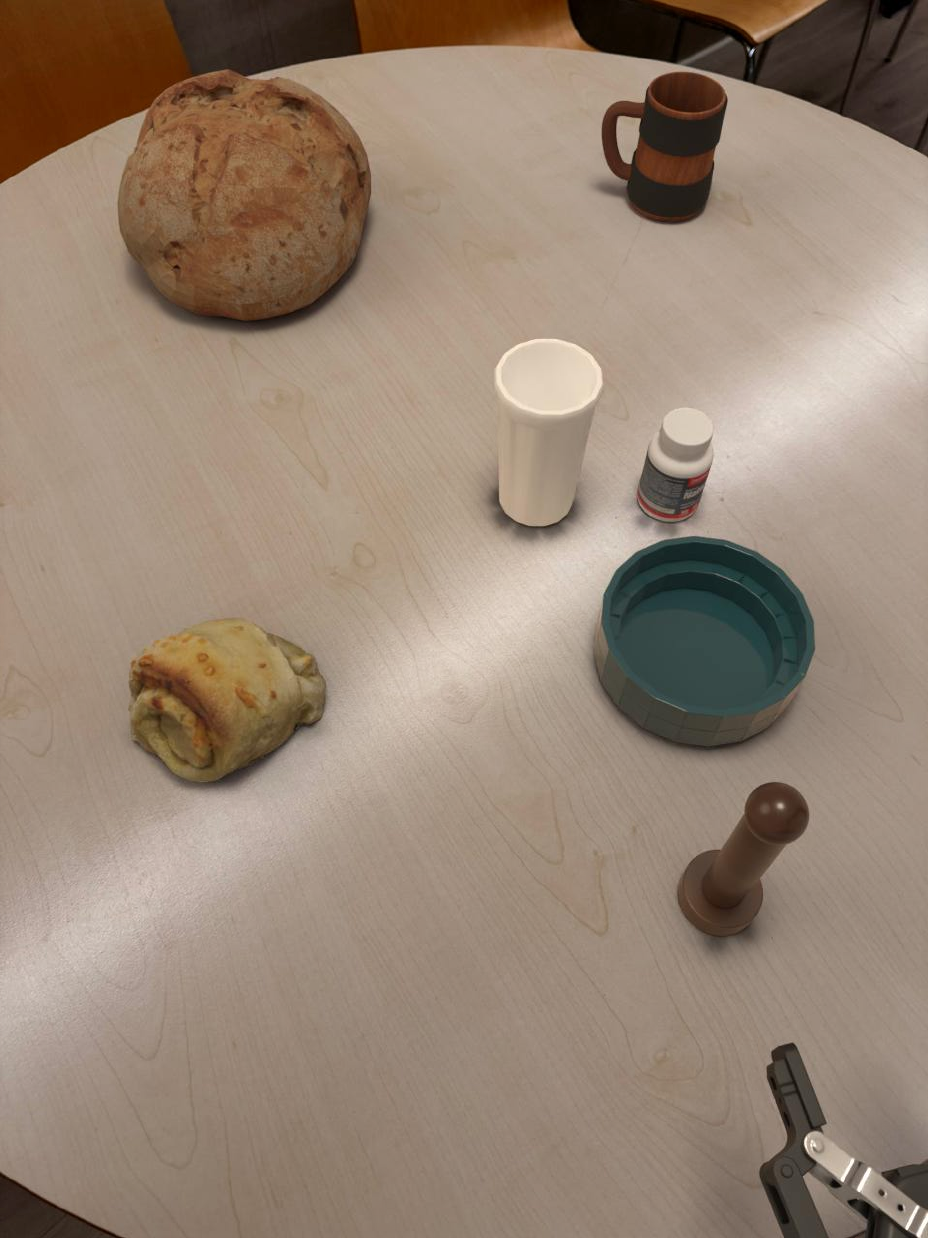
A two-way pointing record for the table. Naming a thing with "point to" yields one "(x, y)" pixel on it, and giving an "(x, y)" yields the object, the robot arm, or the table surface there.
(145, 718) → the pastry
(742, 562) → the bowl
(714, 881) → the pestle
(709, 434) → the pill bottle
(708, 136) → the mug
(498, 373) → the cup
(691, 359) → the table surface
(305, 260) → the bread
